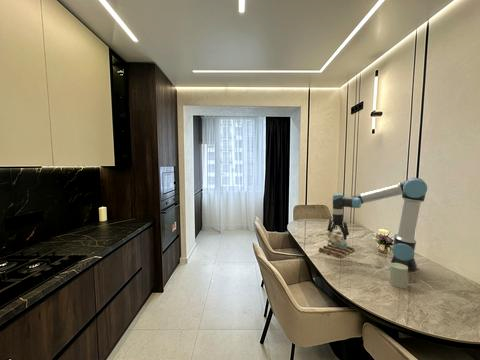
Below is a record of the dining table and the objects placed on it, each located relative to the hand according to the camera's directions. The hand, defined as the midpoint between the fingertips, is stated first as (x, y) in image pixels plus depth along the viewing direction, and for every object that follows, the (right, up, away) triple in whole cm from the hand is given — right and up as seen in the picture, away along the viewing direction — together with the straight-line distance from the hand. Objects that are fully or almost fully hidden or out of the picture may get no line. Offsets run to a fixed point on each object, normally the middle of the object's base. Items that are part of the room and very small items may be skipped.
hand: (337, 241), depth 176 cm
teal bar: (+11, -11, +20) cm, 26 cm away
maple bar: (0, 0, 0) cm, 0 cm away
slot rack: (+6, -13, +16) cm, 21 cm away
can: (+21, -16, -38) cm, 46 cm away
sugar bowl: (+16, -11, +43) cm, 47 cm away
